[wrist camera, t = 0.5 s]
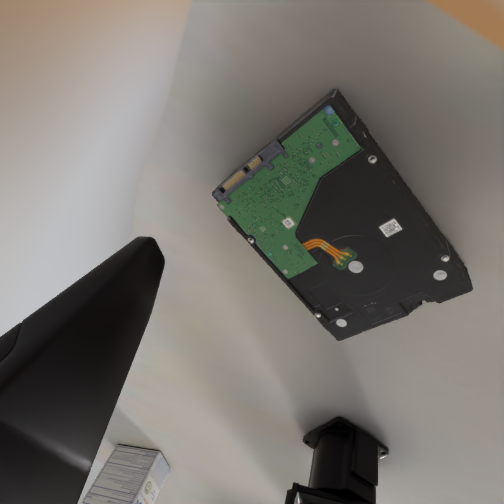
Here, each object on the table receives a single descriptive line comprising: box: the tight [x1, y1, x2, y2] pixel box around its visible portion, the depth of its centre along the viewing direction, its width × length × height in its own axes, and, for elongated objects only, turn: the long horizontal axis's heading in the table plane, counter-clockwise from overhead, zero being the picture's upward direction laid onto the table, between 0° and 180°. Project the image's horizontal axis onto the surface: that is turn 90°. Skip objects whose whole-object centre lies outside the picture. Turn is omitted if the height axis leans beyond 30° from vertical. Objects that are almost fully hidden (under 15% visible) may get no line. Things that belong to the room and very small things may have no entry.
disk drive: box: [212, 89, 473, 341], centre depth 25 cm, size 10×3×15 cm
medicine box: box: [81, 445, 169, 504], centre depth 52 cm, size 8×4×9 cm, turn 105°
